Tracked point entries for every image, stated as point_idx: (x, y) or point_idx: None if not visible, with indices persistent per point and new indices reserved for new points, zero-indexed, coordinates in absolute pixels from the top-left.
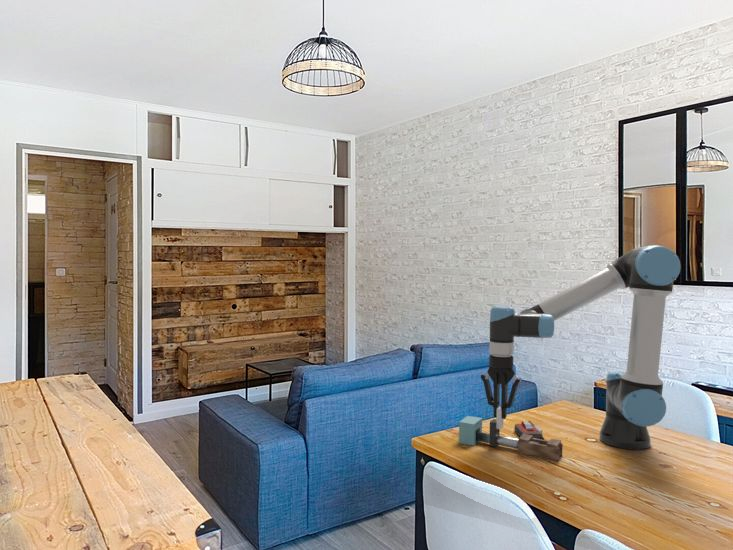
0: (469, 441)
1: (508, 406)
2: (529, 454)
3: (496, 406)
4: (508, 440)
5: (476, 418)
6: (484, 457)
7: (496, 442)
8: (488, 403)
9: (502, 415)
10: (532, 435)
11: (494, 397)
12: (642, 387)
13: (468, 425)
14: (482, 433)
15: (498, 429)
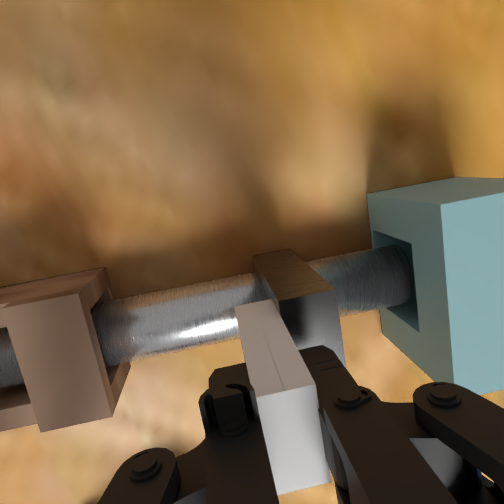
0: (402, 190)
1: (147, 456)
2: (33, 282)
3: (328, 401)
4: (177, 300)
5: (488, 362)
6: (221, 55)
7: (254, 272)
8: (457, 390)
9: (240, 379)
10: (41, 429)
11: (425, 489)
12: None
13: (475, 194)
14: (367, 279)
15: None
